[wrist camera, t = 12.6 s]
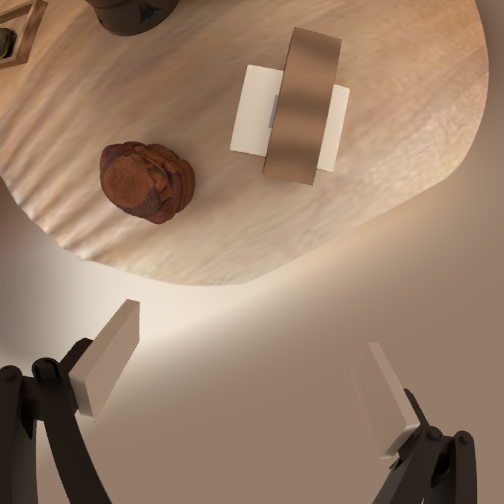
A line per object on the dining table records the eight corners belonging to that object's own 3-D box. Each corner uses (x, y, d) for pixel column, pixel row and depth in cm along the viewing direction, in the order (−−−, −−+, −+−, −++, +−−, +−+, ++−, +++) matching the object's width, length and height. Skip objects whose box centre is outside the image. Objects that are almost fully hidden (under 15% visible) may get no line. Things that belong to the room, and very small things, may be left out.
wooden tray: (-7, 24, 31) (-17, 21, 27) (47, 3, 32) (38, -3, 28) (-24, 76, 36) (-34, 75, 32) (26, 62, 37) (15, 59, 33)
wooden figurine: (209, 178, 45) (180, 192, 28) (186, 209, 47) (146, 241, 30) (153, 135, 43) (97, 128, 26) (131, 167, 44) (69, 178, 27)
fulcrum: (248, 66, 39) (245, 47, 31) (348, 90, 40) (367, 77, 31) (230, 150, 44) (223, 148, 35) (331, 172, 44) (347, 176, 36)
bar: (290, 41, 30) (294, 27, 25) (331, 52, 30) (341, 39, 26) (262, 172, 36) (263, 174, 31) (305, 181, 36) (312, 185, 31)
